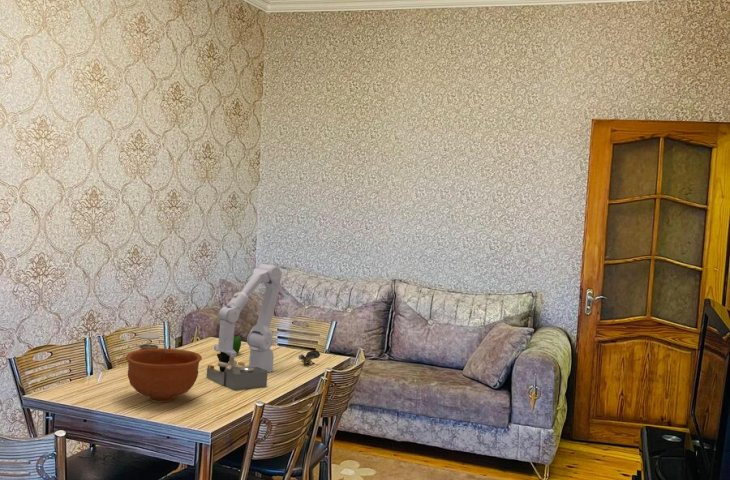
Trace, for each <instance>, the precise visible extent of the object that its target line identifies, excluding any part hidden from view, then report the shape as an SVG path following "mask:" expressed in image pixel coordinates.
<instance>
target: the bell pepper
mask: <svg viewBox="0 0 730 480" xmlns="http://www.w3.org/2000/svg"><path fill="white" fill-rule="evenodd" d="M241 347H242V339H241V338H240V336H234V340H233V350H234V351H235V352H237V354H236V356H237V355H238V354H239V352H240V349H241Z"/></svg>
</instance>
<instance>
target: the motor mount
mask: <svg viewBox="0 0 730 480" xmlns="http://www.w3.org/2000/svg"><path fill="white" fill-rule="evenodd" d="M237 365H241V366H243V367H240V369H232V370H226V372H220V370H217V369H216V368H215V366H214V365H213V364H207V367H206V379H208V380H210V381H213V382H214V383H216V384H218V385H220V386H222V387H226V388H228V389H230V390H232V391H243V390H250V389H258V388H266V387H268V386H267V385H268V375H269V374H268V373H269V372H268V371H266V370H264V369H262V368H259V367H249V365H247V366H246V363H244V362H242V361H239V362H238V361H237Z"/></svg>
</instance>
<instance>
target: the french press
mask: <svg viewBox="0 0 730 480" xmlns="http://www.w3.org/2000/svg"><path fill="white" fill-rule="evenodd" d="M148 311H149V312H150V315H152V313H153V312H154V311H155V309H154V307H149V309H148ZM151 324H152V319H150V321H149V329H152V327H151V326H152V325H151ZM138 338H139V339H141V340H148V344H141V345H139V349H138V350H143V349H156V348H159V345H155V344H151V343H150V342H151V341H150V340H158V344H161V342H162V343H163V344H164V346H165V349H168V347H167V344H166V342H165V341H164V340H162V339H160V338H161V335H159V334H158V333H157V332H156V333H155V332H152V331H148V332H147V331H146V332H143V333H141V334H139V335H138Z"/></svg>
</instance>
